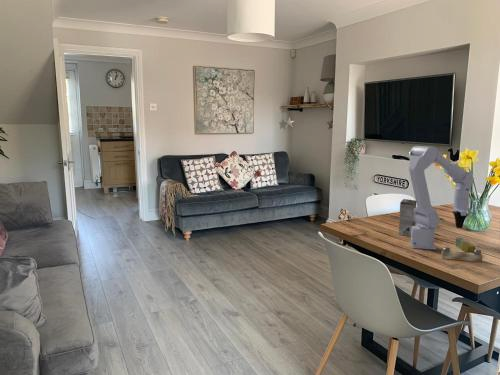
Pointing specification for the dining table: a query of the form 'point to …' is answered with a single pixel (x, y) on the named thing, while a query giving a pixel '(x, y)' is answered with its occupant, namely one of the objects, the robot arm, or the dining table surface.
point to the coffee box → (406, 216)
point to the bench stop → (461, 256)
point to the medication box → (465, 245)
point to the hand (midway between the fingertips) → (459, 227)
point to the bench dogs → (447, 250)
